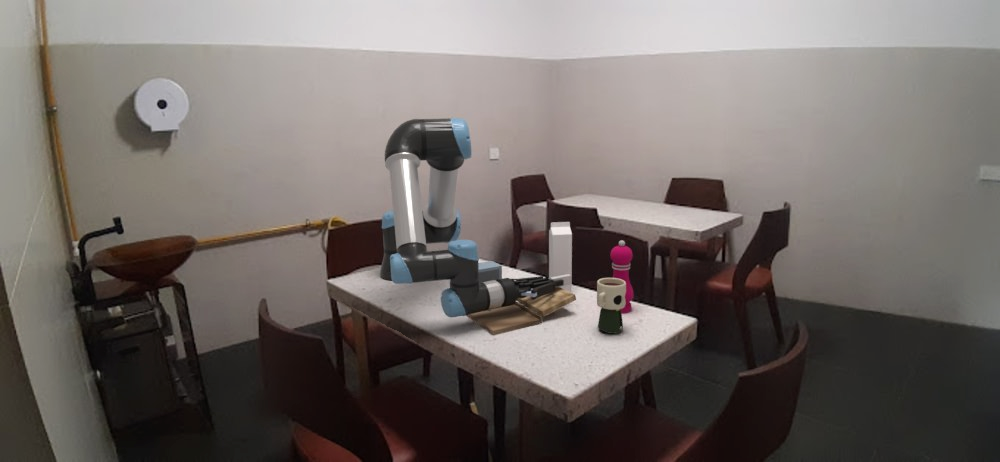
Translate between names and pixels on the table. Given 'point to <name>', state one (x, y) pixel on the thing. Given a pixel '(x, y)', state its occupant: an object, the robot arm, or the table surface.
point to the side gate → (548, 301)
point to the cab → (489, 271)
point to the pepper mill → (623, 270)
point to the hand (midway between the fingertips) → (569, 279)
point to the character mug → (611, 303)
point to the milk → (560, 251)
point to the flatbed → (506, 318)
